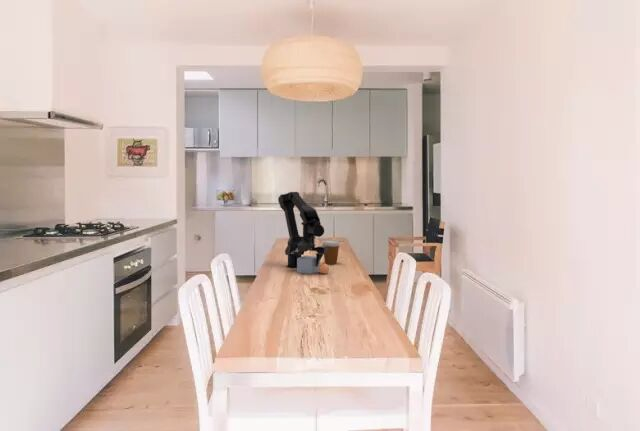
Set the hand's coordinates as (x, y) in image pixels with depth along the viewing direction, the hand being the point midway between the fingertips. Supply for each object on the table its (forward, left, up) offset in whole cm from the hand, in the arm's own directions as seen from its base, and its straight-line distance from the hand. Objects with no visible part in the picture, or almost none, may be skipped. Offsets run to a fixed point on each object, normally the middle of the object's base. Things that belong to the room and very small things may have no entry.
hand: (308, 265), depth 244 cm
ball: (+9, -2, 0) cm, 9 cm away
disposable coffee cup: (+2, +25, -3) cm, 25 cm away
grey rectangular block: (0, 0, -3) cm, 3 cm away
